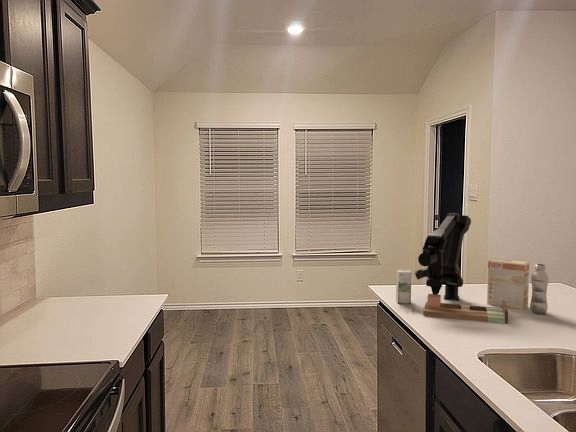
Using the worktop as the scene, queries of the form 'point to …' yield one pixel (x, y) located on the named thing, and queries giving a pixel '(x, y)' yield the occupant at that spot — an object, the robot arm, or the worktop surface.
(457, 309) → the board
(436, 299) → the coral block
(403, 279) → the syrup box
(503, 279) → the coffeecake box
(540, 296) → the plastic bottle
